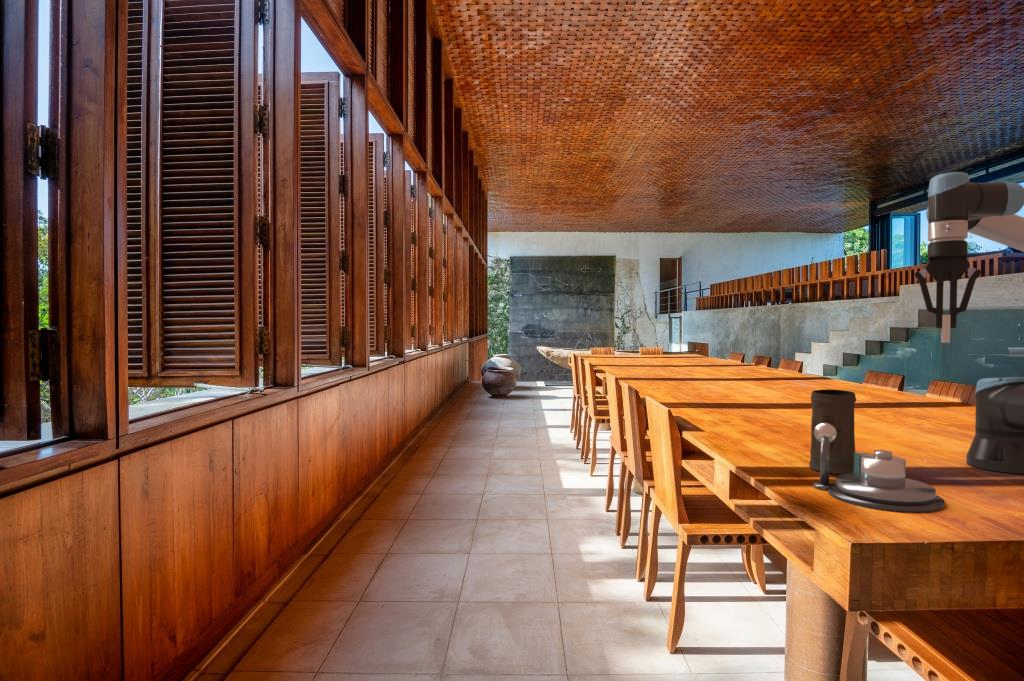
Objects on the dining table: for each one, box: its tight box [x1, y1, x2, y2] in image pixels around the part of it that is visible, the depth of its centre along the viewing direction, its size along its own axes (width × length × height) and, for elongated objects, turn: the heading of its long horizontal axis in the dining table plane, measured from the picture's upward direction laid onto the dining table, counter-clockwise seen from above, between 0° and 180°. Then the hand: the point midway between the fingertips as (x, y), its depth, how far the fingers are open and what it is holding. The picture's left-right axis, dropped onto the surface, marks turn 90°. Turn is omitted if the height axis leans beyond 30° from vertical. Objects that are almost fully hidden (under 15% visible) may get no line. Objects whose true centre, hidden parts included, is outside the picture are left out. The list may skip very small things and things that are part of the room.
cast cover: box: [861, 449, 907, 490], centre depth 126 cm, size 8×8×7 cm
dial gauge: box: [813, 423, 837, 492], centre depth 134 cm, size 4×4×15 cm
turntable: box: [835, 451, 937, 506], centre depth 129 cm, size 22×18×6 cm
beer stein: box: [808, 388, 857, 475], centre depth 153 cm, size 15×11×20 cm
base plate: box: [827, 482, 946, 513], centre depth 127 cm, size 21×21×1 cm
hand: (945, 342), depth 140 cm, fingers closed
